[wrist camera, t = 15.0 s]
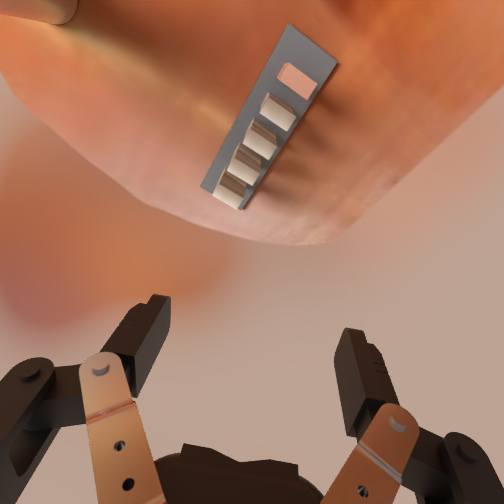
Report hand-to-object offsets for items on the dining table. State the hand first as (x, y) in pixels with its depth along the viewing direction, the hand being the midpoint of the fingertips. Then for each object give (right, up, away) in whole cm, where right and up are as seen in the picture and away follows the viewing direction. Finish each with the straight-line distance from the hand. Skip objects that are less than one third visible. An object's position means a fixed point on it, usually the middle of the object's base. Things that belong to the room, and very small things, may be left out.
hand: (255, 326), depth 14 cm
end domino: (+7, +33, +39) cm, 52 cm away
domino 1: (+2, +26, +43) cm, 51 cm away
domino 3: (-4, +19, +48) cm, 52 cm away
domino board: (+2, +27, +44) cm, 52 cm away
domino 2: (-1, +23, +46) cm, 51 cm away
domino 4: (+4, +30, +41) cm, 51 cm away
